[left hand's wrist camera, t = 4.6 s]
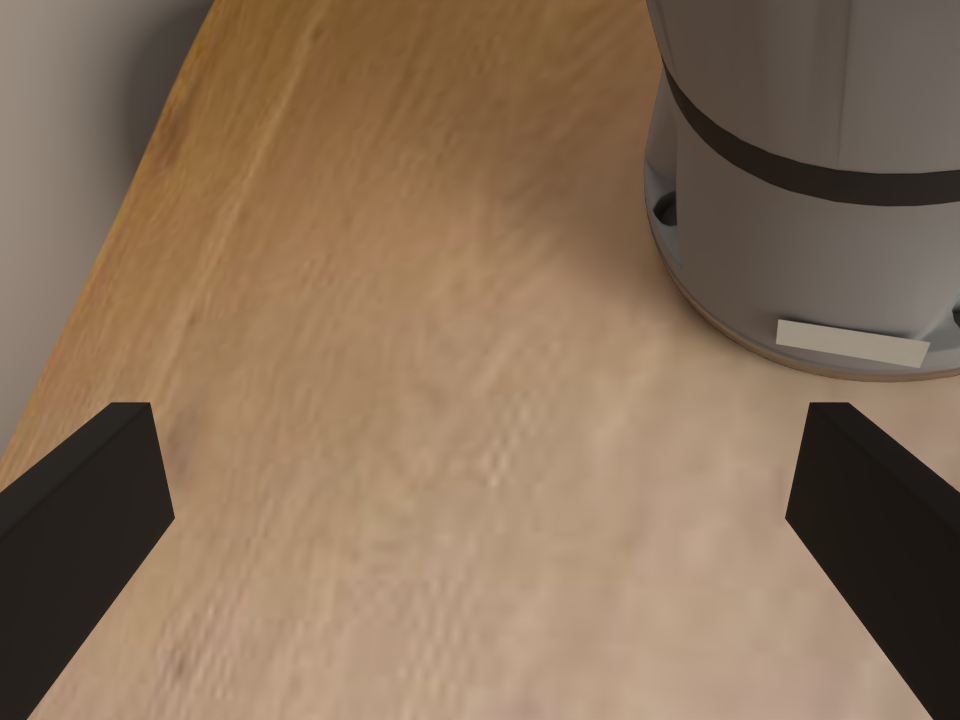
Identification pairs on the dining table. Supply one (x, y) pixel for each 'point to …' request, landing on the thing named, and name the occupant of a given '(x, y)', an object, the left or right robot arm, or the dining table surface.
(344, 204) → the dining table surface
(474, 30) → the dining table surface
